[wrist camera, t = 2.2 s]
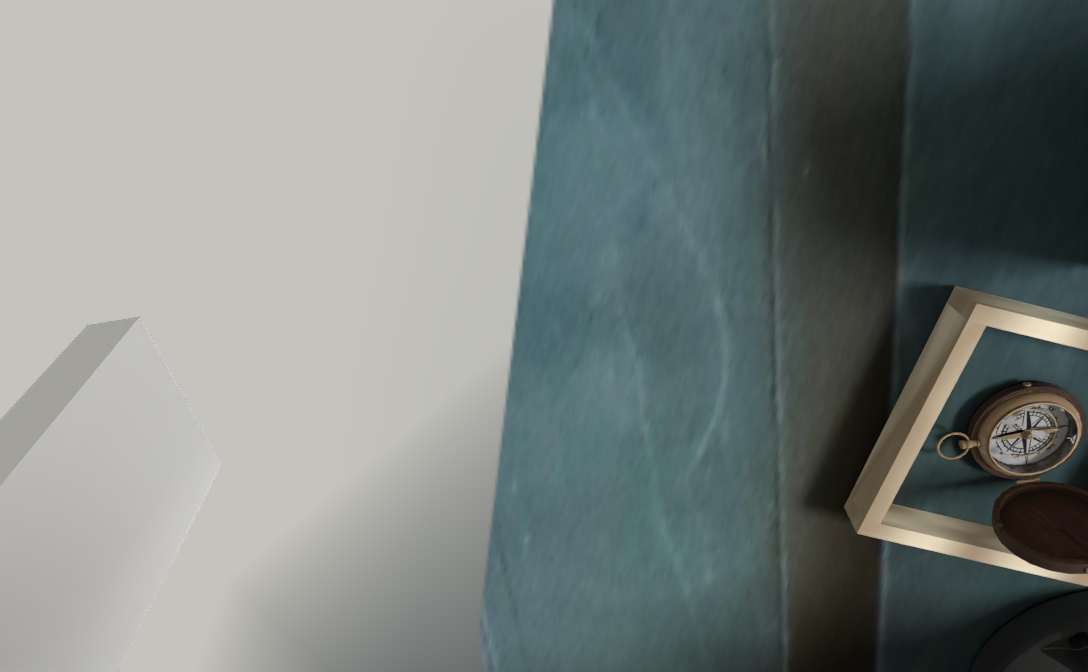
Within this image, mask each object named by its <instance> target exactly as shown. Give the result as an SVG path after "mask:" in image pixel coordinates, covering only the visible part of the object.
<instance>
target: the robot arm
mask: <svg viewBox="0 0 1088 672" xmlns="http://www.w3.org/2000/svg"><path fill="white" fill-rule="evenodd" d="M220 467H221V462H220V460H219V458H218V457H217V455H216V453H215V451H214V449H213V448H212V446H211V444H210V442H209V441H208V439H207V437H206V435H205V433H204V432H203V430H202V428H201V426H200V424H199V422H198V421H197V419H196V417H195V415H194V413H193V412H192V410H191V408H190V406H189V404H188V403H187V401H186V399H185V397H184V395H183V394H182V392H181V390H180V388H179V386H178V385H177V383H176V381H175V379H174V377H173V375H172V374H171V372H170V370H169V368H168V367H167V365H166V363H165V361H164V359H163V357H162V356H161V354H160V352H159V350H158V349H157V347H156V345H155V343H154V341H153V339H152V338H151V336H150V334H149V332H148V330H147V329H146V327H145V325H144V323H143V321H142V320H141V318H140V317H135V318H129V319H123V320H117V321H110V322H105V323H98V324H92V325H87V326H86V327H85V328H84V329H83V331H82V332H81V333H80V334H79V335H78V336H77V337H76V338H75V339H74V340H73V341H72V342H71V344H70V345H69V346H68V347H67V348H66V349H65V350H64V351H63V352H62V353H61V354H60V356H59V357H58V358H57V359H56V360H55V361H54V362H53V363H52V364H51V365H50V366H49V368H48V369H47V370H46V371H45V372H44V373H43V374H42V375H41V376H40V377H39V378H38V379H37V380H36V382H35V383H34V384H33V385H32V386H31V387H30V388H29V389H28V390H27V391H26V392H25V394H24V395H23V396H22V397H21V398H20V399H19V400H18V401H17V402H16V403H15V405H13V407H12V408H11V409H10V410H9V411H8V412H7V413H6V414H5V415H4V416H3V417H2V418H1V420H0V672H119V670H120V668H121V666H122V663H123V662H124V660H125V658H126V656H127V653H128V651H129V650H130V647H131V646H132V643H133V642H134V640H135V638H136V636H137V634H138V632H139V629H140V627H141V626H142V624H143V622H144V619H145V617H146V615H147V613H148V611H149V609H150V607H151V605H152V603H153V601H154V599H155V597H156V595H157V593H158V591H159V589H160V587H161V585H162V583H163V581H164V579H165V577H166V575H167V573H168V571H169V569H170V567H171V565H172V563H173V561H174V559H175V557H176V555H177V553H178V551H179V549H180V547H181V545H182V543H183V541H184V539H185V537H186V535H187V533H188V531H189V529H190V527H191V525H192V523H193V521H194V519H195V517H196V515H197V513H198V511H199V509H200V507H201V505H202V503H203V501H204V499H205V497H206V495H207V493H208V491H209V489H210V487H211V485H212V483H213V481H214V479H215V477H216V475H217V473H218V471H219V469H220ZM971 672H1088V591H1084V592H1079V593H1074V594H1070V595H1066V596H1063V597H1059V598H1056V599H1053V600H1051V601H1048V602H1045V603H1043V604H1041V605H1038V606H1036V607H1034V608H1032V609H1030V610H1028V611H1026V612H1024V613H1022V614H1021V615H1019V616H1018V617H1016V618H1014V619H1013V620H1012V621H1010V622H1009V623H1007V624H1006V625H1005V626H1003V627H1002V628H1001V629H1000V630H999V631H998V632H996V633H995V634H994V635H993V636H992V637H991V638H990V639H989V641H988V642H987V643H986V644H985V645H984V647H983V648H982V649H981V651H980V652H979V654H978V656H977V657H976V659H975V661H974V663H973V666H972V668H971Z"/></svg>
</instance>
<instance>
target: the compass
mask: <svg viewBox="0 0 1088 672" xmlns="http://www.w3.org/2000/svg"><path fill="white" fill-rule="evenodd" d="M1085 432H1086V416H1085V413H1084V410H1083V407H1082V405H1081V404H1080V403H1079V402H1078V401H1077V400H1076V398H1075V397H1074V396H1073V395H1071V394H1070V393H1069V392H1068V391H1066V390H1064V389H1062V388H1060V387H1058V386H1057V385H1053V384H1048V383H1043V382H1031V383H1030V382H1024V383H1022V384H1018V385H1015V386H1011V387H1008V388H1006V389H1004V390H1002V391H1000V392H998V393H996V394H995V395H993V396H991V397H990V398H989V399H988V400H987V401H986V402H984V403H983V404H982V405H981V406H980V407H979V409H978V410H977V411H976V413H975V414H974V416H973V417H972V418H971V421H970V424H969V427H968V430H967V436H966V435H965V434H963V433H960V432H951V433H948V434H946V435H944V436H943V437H941V438H940V440H939V441H938V443H937V447H936V450H937V453H938V454H939V455H940V456H941V457H942V458H945V459H957V458H960V457H962V456H963V455H965V454H966V453H967V451H968V450H970V453H971V455H972V457H973V458H974V459H975V460H976V461H977V462H978V464H979V465H980V466H981V467H982V468H983V469H984V470H986V471H988V472H990V473H991V474H993V475H995V476H998V477H1003V478H1008V479H1019V480H1017V481H1015V483H1016V485H1015V486H1013V487H1011V488H1010V489H1008V490H1006V491H1004V492H1002V494H1001V495H1000V496H999V497H998V498H997V499H996V501H995V503H994V507H993V511H992V524H993V529H994V533H995V534H996V536H997V537H998V539H999V540H1000V542H1001V543H1002V544H1003V545H1004V546H1005V547H1006V548H1007V549H1008V550H1009V551H1010V552H1012V553H1013V554H1014V555H1015V556H1017V557H1019V558H1021V559H1022V560H1024V561H1026V562H1028V563H1029V564H1032V565H1035V566H1037V567H1040V568H1043V569H1046V570H1049V571H1054V572H1060V573H1066V574H1088V491H1086V490H1084V489H1082V488H1078V487H1074V486H1071V485H1067V484H1063V483H1055V482H1046V481H1044V482H1043V481H1040V479H1039V477H1038V478H1033V477H1035V476H1039V475H1042V474H1045V473H1047V472H1049V471H1051V470H1053V469H1055V468H1057V467H1058V466H1060V465H1061V464H1062V463H1064V462H1065V461H1066V460H1067V459H1069V458H1070V457H1071V456H1072V455H1073V453H1074V452H1075V451H1076V450H1077V448H1078V447H1079V446H1080V444H1081V442H1082V439H1083V437H1084V435H1085ZM951 435H961V436H964V437H965V438H966V439H965V440H960V441H959V446H960V448H961V449H965V451H964V452H963V453H961V454H960V455H958V456H955V457H947V456H944V455H942V454H941V453H940V450H939V447H940V443H941V442H942V441H943V439H945V438H946V437H948V436H951Z"/></svg>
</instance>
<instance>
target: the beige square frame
mask: <svg viewBox="0 0 1088 672" xmlns="http://www.w3.org/2000/svg"><path fill="white" fill-rule="evenodd" d="M986 326H989V327H993V328H998V329H1002V330H1006V331H1010V332H1014V333H1018V334H1022V335H1026V336H1031V337H1035V338H1039V339H1043V340H1047V341H1051V342H1055V343H1059V344H1063V345H1068V346H1072V347H1076V348H1080V349H1084V350H1088V318H1085V317H1081V316H1077V315H1073V314H1069V313H1065V312H1061V311H1057V310H1053V309H1049V308H1044V307H1040V306H1036V305H1032V304H1028V303H1024V302H1020V301H1016V300H1012V299H1008V298H1004V297H1000V296H995V295H991V294H987V293H983V292H979V291H975V290H971V289H967V288H963V287H959V286H955V287H954V289H953V291H952V293H951V295H950V297H949V299H948V301H947V303H946V305H945V307H944V309H943V311H942V313H941V315H940V317H939V319H938V321H937V323H936V325H935V327H934V329H933V331H932V333H931V335H930V337H929V339H928V341H927V343H926V345H925V347H924V349H923V351H922V353H921V355H920V357H919V359H918V361H917V363H916V365H915V367H914V369H913V371H912V373H911V375H910V377H909V379H908V381H907V383H906V384H905V386H904V388H903V390H902V392H901V394H900V396H899V398H898V400H897V402H896V404H895V406H894V408H893V410H892V412H891V414H890V416H889V418H888V420H887V422H886V424H885V426H884V428H883V430H882V432H881V434H880V436H879V438H878V440H877V442H876V444H875V446H874V448H873V450H872V452H871V454H870V456H869V458H868V460H867V462H866V464H865V466H864V468H863V470H862V472H861V474H860V476H859V478H858V480H857V482H856V484H855V486H854V488H853V490H852V492H851V494H850V496H849V498H848V500H847V502H846V504H845V506H844V508H845V510H846V512H847V514H848V516H849V518H850V520H851V522H852V524H853V527H854V529H855V531H856V533H857V534H861V535H865V536H870V537H874V538H879V539H883V540H887V541H892V542H896V543H900V544H905V545H909V546H913V547H918V548H922V549H927V550H931V551H935V552H940V553H944V554H948V555H953V556H957V557H961V558H966V559H970V560H975V561H979V562H983V563H988V564H992V565H996V566H1001V567H1005V568H1009V569H1014V570H1018V571H1023V572H1027V573H1031V574H1036V575H1040V576H1044V577H1049V578H1053V579H1058V580H1062V581H1066V582H1071V583H1075V584H1079V585H1084V586H1088V574H1066V573H1060V572H1054V571H1049V570H1046V569H1043V568H1040V567H1037V566H1035V565H1032V564H1029V563H1028V562H1026V561H1024V560H1022V559H1021V558H1019V557H1017V556H1015V555H1014V554H1013V553H1012V552H1010V551H1009V550H1008V549H1007V548H1006V547H1005V546H1004V545H1003V544H1002V543H1001V542H1000V540H999V539H998V537H997V536H996V534H995V533H994V529H993V527H991V526H987V525H982V524H978V523H974V522H969V521H965V520H961V519H956V518H952V517H948V516H943V515H939V514H935V513H930V512H926V511H922V510H918V509H913V508H909V507H905V506H900V505H896V504H892V501H893V499H894V497H895V496H896V494H897V492H898V490H899V488H900V486H901V484H902V483H903V481H904V479H905V477H906V475H907V473H908V471H909V469H910V468H911V466H912V464H913V462H914V460H915V458H916V456H917V455H918V453H919V451H920V449H921V447H922V445H923V443H924V441H925V440H926V438H927V436H928V434H929V432H930V430H931V428H932V427H933V425H934V423H935V421H936V419H937V417H938V415H939V413H940V412H941V410H942V408H943V406H944V404H945V402H946V400H947V399H948V397H949V395H950V393H951V391H952V389H953V387H954V385H955V384H956V382H957V380H958V378H959V376H960V374H961V372H962V370H963V369H964V367H965V365H966V363H967V361H968V359H969V357H970V356H971V354H972V352H973V350H974V348H975V346H976V344H977V342H978V341H979V339H980V337H981V335H982V333H983V331H984V329H985V328H986Z"/></svg>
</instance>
